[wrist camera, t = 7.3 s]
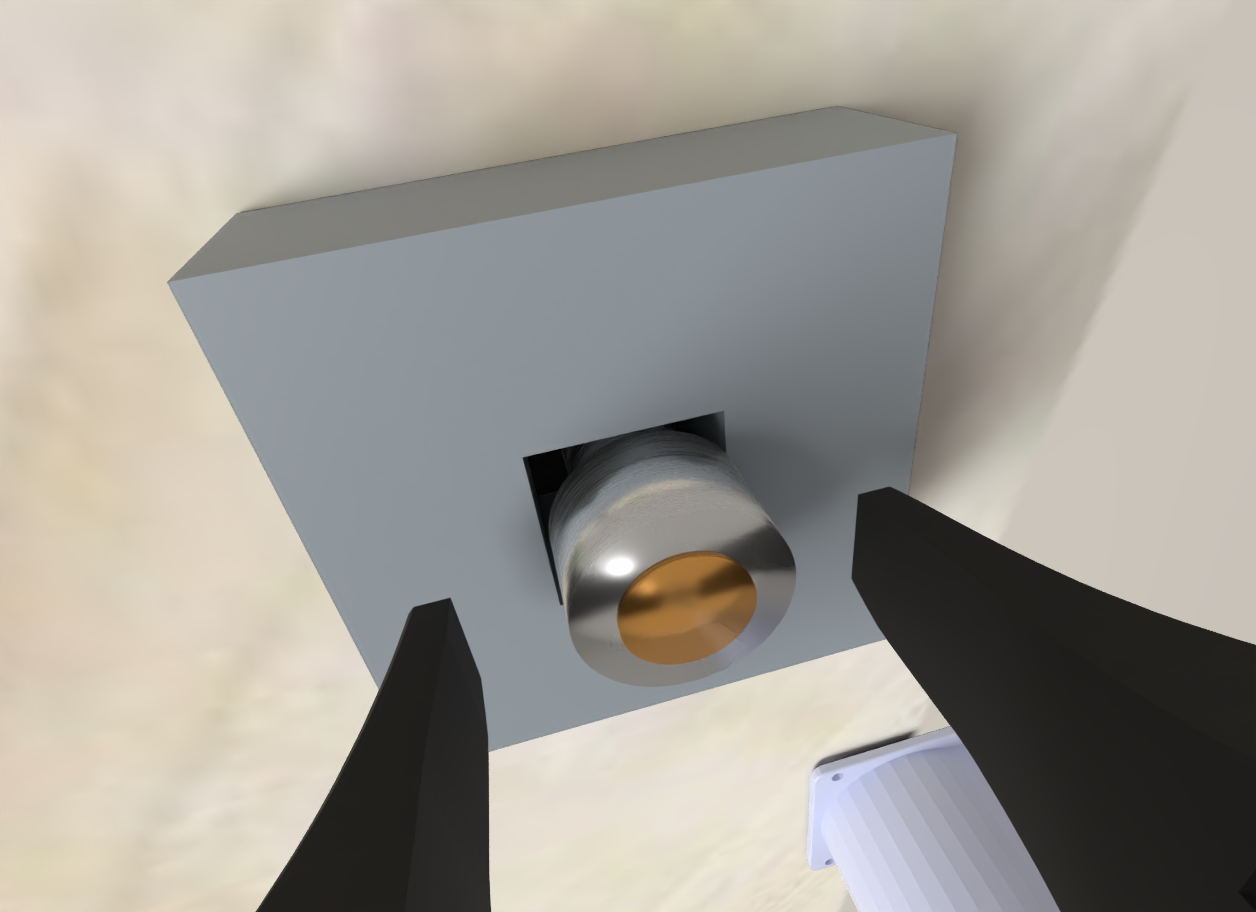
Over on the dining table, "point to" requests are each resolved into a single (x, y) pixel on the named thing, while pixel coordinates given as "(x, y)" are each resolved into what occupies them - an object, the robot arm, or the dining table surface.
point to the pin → (665, 558)
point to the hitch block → (582, 371)
